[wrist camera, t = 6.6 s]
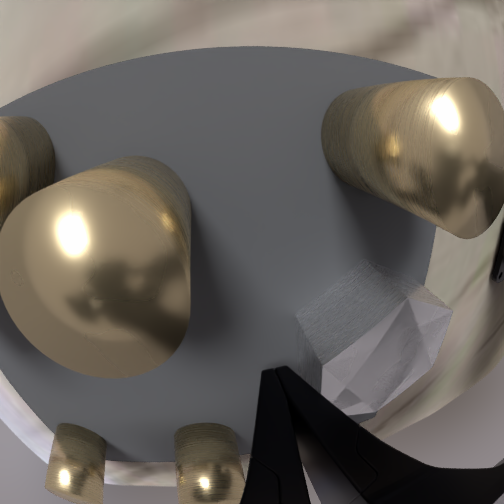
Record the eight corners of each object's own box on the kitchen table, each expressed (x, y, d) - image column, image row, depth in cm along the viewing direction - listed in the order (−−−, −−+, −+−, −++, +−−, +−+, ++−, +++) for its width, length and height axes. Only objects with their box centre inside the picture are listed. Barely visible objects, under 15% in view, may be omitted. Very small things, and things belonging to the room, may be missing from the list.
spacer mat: (431, 80, 7) (441, 79, 6) (371, 411, 14) (374, 417, 14) (-68, 158, 4) (-76, 161, 4) (80, 450, 12) (79, 456, 11)
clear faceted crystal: (394, 231, 8) (442, 262, 6) (425, 311, 11) (457, 342, 8) (260, 339, 9) (279, 394, 7) (325, 390, 11) (345, 431, 9)
